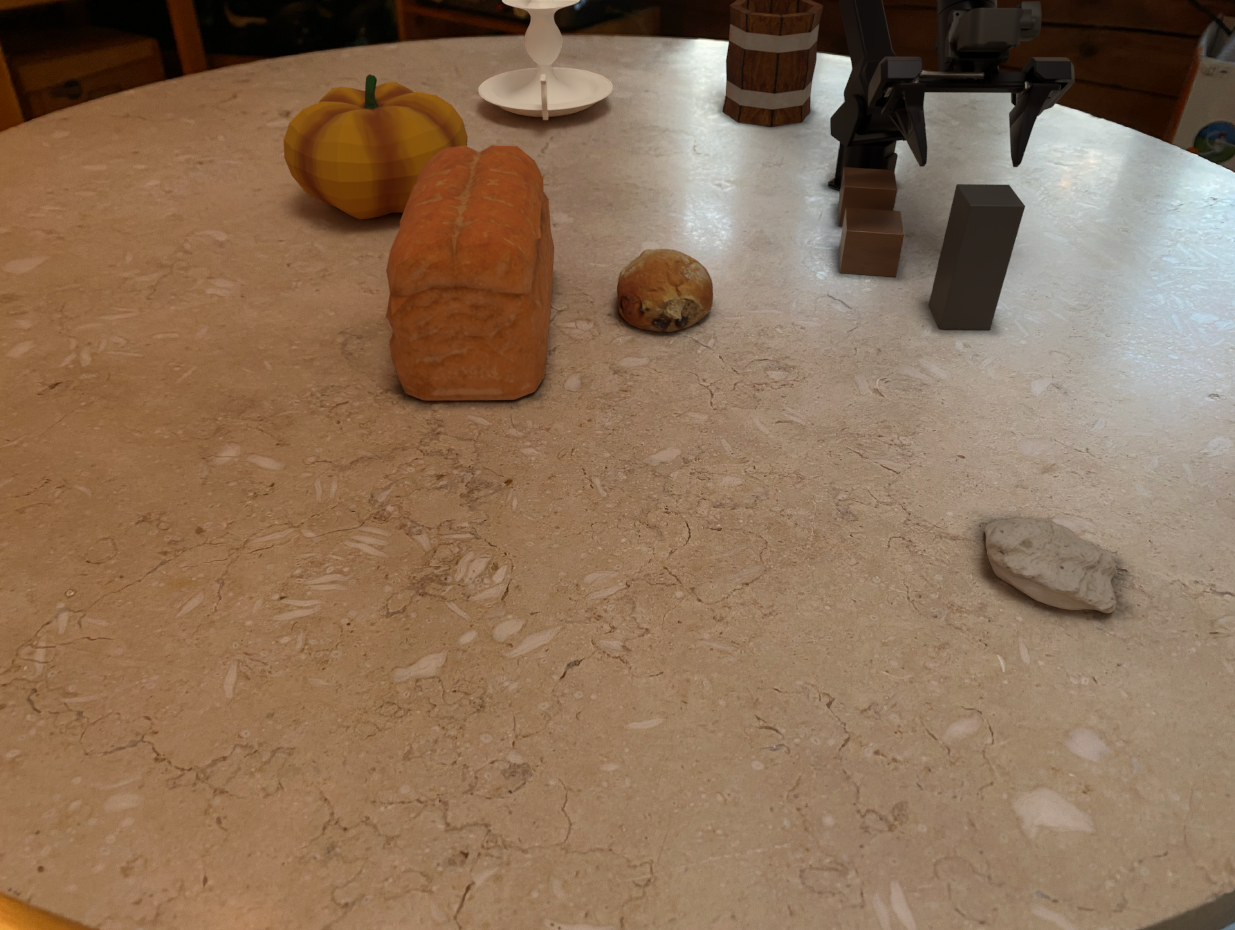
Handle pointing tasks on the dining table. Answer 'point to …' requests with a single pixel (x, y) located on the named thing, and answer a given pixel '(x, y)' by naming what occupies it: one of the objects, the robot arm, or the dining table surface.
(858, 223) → the block
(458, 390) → the bread
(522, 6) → the candlestick
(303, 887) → the dining table surface
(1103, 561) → the stone
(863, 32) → the robot arm
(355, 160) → the decorative pumpkin
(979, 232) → the tall block
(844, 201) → the block
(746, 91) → the mug
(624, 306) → the bread roll
